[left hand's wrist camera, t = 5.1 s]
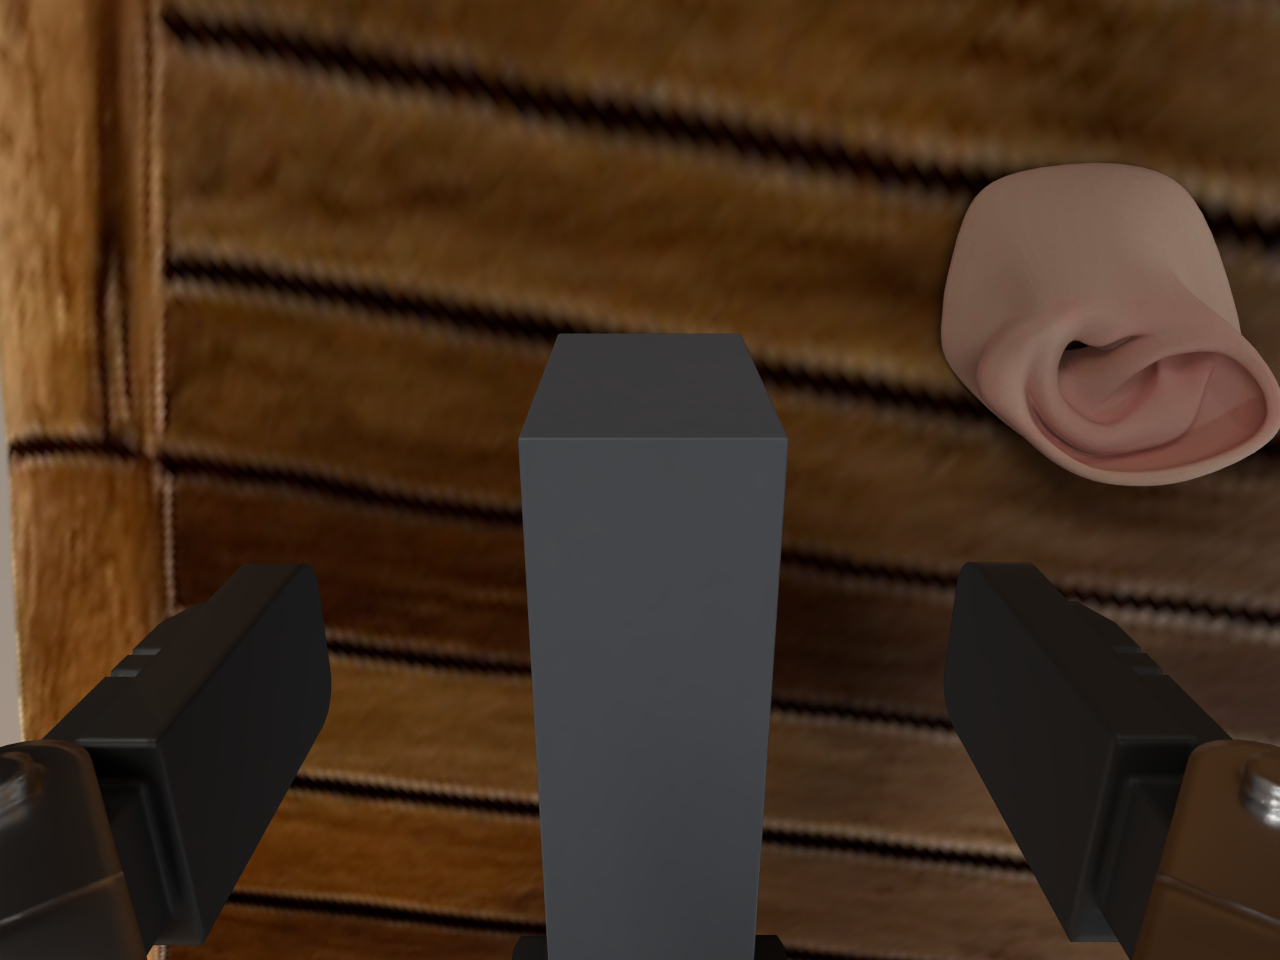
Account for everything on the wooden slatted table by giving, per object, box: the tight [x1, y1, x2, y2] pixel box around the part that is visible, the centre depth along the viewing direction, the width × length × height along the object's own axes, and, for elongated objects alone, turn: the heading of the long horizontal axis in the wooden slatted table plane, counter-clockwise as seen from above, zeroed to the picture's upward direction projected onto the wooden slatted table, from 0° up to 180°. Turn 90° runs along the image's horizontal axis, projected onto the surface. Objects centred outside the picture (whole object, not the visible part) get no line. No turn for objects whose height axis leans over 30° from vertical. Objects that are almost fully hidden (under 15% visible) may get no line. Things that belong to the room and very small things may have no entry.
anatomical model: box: [941, 163, 1280, 486], centre depth 34 cm, size 13×4×12 cm
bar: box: [518, 334, 788, 960], centre depth 27 cm, size 25×6×9 cm, turn 0°
